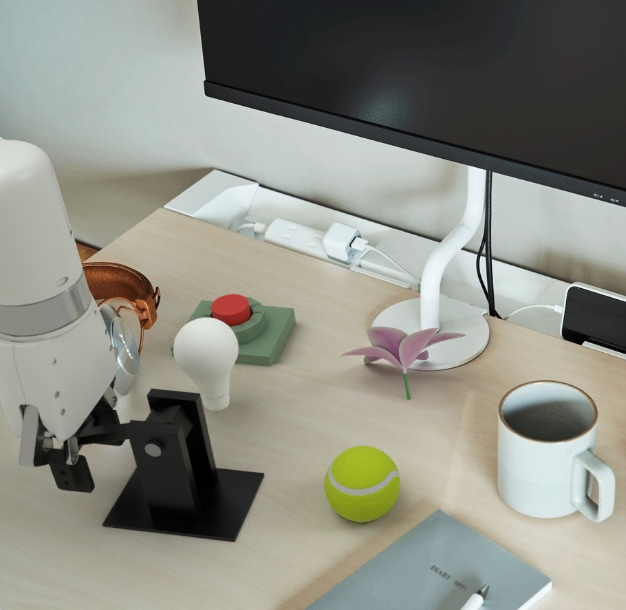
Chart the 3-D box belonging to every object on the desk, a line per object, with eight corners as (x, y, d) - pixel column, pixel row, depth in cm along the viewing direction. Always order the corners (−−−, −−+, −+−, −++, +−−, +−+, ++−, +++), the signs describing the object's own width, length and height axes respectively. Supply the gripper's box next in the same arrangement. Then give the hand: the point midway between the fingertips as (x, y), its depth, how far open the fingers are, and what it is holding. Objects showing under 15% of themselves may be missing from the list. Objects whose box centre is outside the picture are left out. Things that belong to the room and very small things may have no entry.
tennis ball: (379, 548, 80) (375, 494, 76) (313, 524, 82) (306, 470, 79) (414, 495, 85) (412, 442, 82) (351, 474, 87) (346, 421, 84)
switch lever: (64, 468, 79) (50, 448, 78) (91, 428, 83) (78, 409, 82) (176, 455, 76) (163, 433, 75) (199, 414, 80) (187, 393, 79)
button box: (173, 363, 101) (167, 334, 98) (204, 315, 108) (199, 286, 106) (271, 372, 100) (266, 343, 97) (295, 323, 107) (292, 295, 104)
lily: (482, 383, 100) (465, 297, 99) (445, 415, 89) (427, 319, 88) (382, 394, 104) (365, 311, 103) (335, 426, 93) (316, 334, 92)
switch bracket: (104, 533, 81) (72, 435, 74) (143, 468, 88) (117, 372, 81) (236, 548, 80) (215, 451, 73) (265, 481, 87) (249, 386, 80)
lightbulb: (176, 424, 93) (155, 337, 86) (205, 385, 98) (187, 301, 91) (232, 434, 92) (215, 347, 85) (258, 395, 96) (244, 310, 90)
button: (208, 326, 100) (205, 313, 99) (221, 305, 103) (218, 292, 102) (243, 329, 100) (241, 316, 99) (255, 308, 103) (253, 295, 102)
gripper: (48, 238, 79) (98, 398, 90) (-75, 362, 65) (0, 534, 76) (131, 245, 78) (171, 406, 89) (24, 371, 64) (87, 544, 75)
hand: (92, 463), depth 82 cm, fingers closed on switch lever, 5 cm apart
